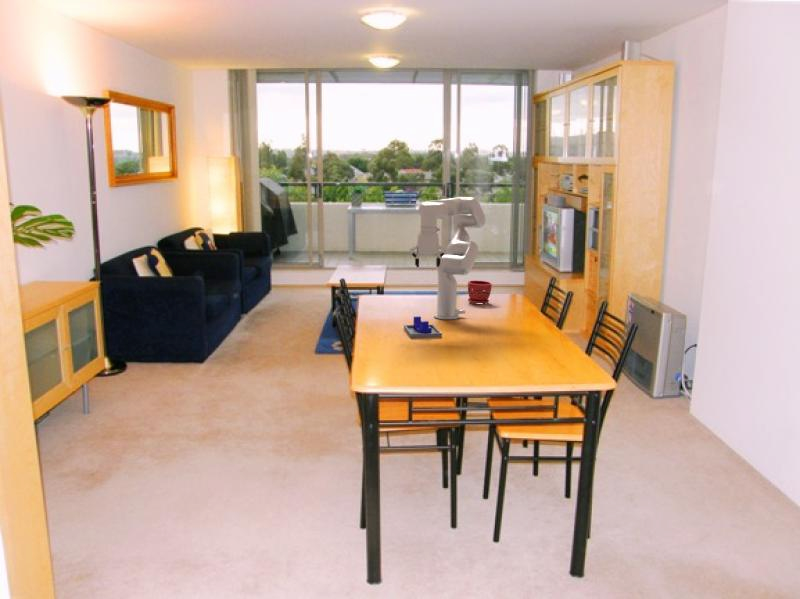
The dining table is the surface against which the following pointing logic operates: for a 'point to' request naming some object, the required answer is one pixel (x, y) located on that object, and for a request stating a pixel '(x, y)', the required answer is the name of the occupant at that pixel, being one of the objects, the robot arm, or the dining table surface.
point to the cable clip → (421, 325)
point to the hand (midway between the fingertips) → (427, 266)
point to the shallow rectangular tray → (415, 334)
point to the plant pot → (479, 291)
